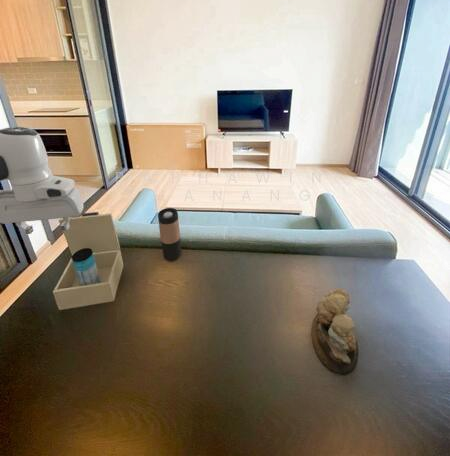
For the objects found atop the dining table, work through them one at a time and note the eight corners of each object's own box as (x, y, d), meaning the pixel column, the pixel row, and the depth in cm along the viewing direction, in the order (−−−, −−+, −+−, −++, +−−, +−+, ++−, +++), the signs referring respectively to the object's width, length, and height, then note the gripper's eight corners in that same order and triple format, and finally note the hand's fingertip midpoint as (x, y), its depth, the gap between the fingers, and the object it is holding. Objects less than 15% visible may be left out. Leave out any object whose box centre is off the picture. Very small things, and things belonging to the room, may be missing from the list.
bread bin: (113, 301, 81) (109, 283, 78) (59, 310, 78) (52, 292, 75) (123, 265, 95) (120, 249, 92) (77, 272, 92) (72, 255, 90)
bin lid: (110, 214, 84) (114, 205, 89) (58, 220, 82) (64, 211, 86) (119, 249, 92) (122, 239, 96) (72, 255, 89) (76, 245, 93)
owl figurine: (366, 387, 58) (381, 339, 52) (314, 374, 61) (323, 327, 55) (349, 316, 75) (359, 273, 69) (309, 308, 77) (315, 266, 71)
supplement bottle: (97, 278, 88) (88, 245, 83) (103, 288, 84) (95, 254, 79) (79, 289, 84) (69, 254, 79) (85, 299, 80) (74, 264, 75)
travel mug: (159, 258, 98) (153, 216, 91) (169, 246, 105) (165, 206, 98) (175, 263, 95) (170, 220, 88) (185, 250, 102) (181, 209, 95)
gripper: (-20, 197, 60) (-2, 242, 65) (71, 190, 64) (82, 233, 68) (-2, 185, 66) (13, 228, 71) (80, 179, 69) (89, 220, 74)
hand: (47, 230), depth 70 cm, fingers open, 8 cm apart
